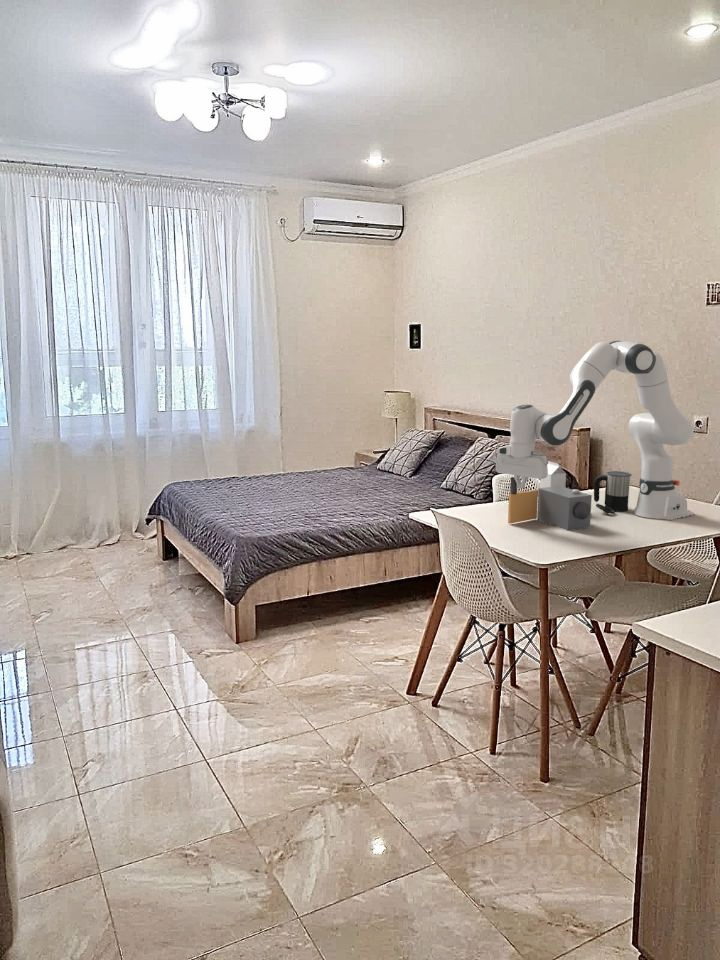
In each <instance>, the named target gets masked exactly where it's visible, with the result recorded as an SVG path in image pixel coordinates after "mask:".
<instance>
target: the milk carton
mask: <svg viewBox="0 0 720 960" xmlns="http://www.w3.org/2000/svg"><path fill="white" fill-rule="evenodd" d="M547 468H548V476H547V477H546V478H544V479H539V482H540V483H539V488H546V487H556V486H562V487H565V488H566V483H567V482H566V481H567V479H566V478H567V474H566V473H567V472H565V471H564V470H563V469H562V467H561V466H560V463H557V462H553V461H549V460H547Z"/></svg>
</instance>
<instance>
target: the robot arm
mask: <svg viewBox="0 0 720 960" xmlns="http://www.w3.org/2000/svg"><path fill="white" fill-rule="evenodd" d="M612 370H613V371H614V370H615V371H617V372H620V373H627V374H629V373H630V374H633V375H634V378H635V379H634V380H635V385H636V391H637V396H638V402H639V403H640V406H641V407H643V408H644V409H645V410H647V412H643V413H642V412H641V413H637V414H633V416H632V417H631V418H630V419H629V423H628V425H627V426H628V432H629V435H630V436H631V437H632V438H633V439H634V441H635V443H636V444H637V446H638V449H639V451H640V457H641V473H640V474H641V475H640V478H639V485H638V486H639V491H638V496H637V501H636V505H635V508H634V512H633V514H634V515H636V516H639V517H642V518H647V519H655V520H656V519H657V520H658V519H659V520H667V521H670V520H671V521H672V520H673V519H674V520H677V518H678V519H682V518H681V517H683V518H686V516H687V517H690V516H689V515H691V516H694V515H693V514H694V512H693V511H692V510H690V509H688V500H687V498H686V497H685V496H684V495H682V494H681V493H680V491H678V490H676V487H675V486H680V480H678V479H674V480H673V470H674V469H673V467H674V460H673V457H672V456H671V455H670V454H669V453H668V452H667V451H666V449H665V447H664V445H666V446H667V445H668V446H682V445H686V444H688V443H689V441H691V439H692V438H693V435H694V425H693V424H692V422H691V421H690V420H689V419H688V418H687V417H685V416H684V415H683V414H682V412H681V411H680V410H679V409H678V407H677V405H676V404H675V402H674V399H673V398H672V394H671V389H670V384H669V380H668V379H669V378H668V373H667V369H666V364H665V362H664V360H663V358H662V355H661V354H660V353H659V352H656V351H653V350H652V349H651V347H649V346H648V345H646V344H642V343H639V342H633V341H625V340H624V341H621V340H615V341H614V340H613V341H610V342H605V341H600V342H597V343H596V344H594V345H593V346H592V347H591V348H590V349H589V350H587V352H586V353H585V354H584V355H583V356H582V357H581V358H580V359H579V361H578V362H577V363H576V364H575V365H574V367H573V369H572V370H571V372H570V374H569V383H570V386H571V387H572V393H571V396H570V397H569V398H568V400H567V401H566V403H565V405H564V406H563V407H562V408H561V410H560V411H559V412H558V413H557V414H555V415H553V414H551V413H547V412H544V411H542V410H540V409H538V408H536V407H535V406H534V405H532V404H522V405H518V406H516V407H514V408H513V409H512V411H511V415H510V420H509V421H510V423H509V431H510V432H509V433H510V439H509V444H507V445H505V446H501V447H498V448H497V454H498V455H497V456H496V458H495V459H496V460H495V471H496V472H497V473H498V474H504V475H511V476H513V477H514V479H515V481H516V483H517V489H525V488H526V484H527V482H528V480H529V478H531V479H538V480H540V479H544V478H546V477H547V476H548V468H547V464H548V457H547V455H546V454H545V453H544V452H538V451H535V446H536V445H535V442H536V440H541V441H544V442H546V443H547V444H549V445H552V446H561V445H564V444H565V443H566V442H567V441H569V439H570V437H571V436H572V433H573V432H572V431H573V430H574V429H573V428H574V426H575V424H576V422H577V421H578V419H579V418H580V416H581V415H582V413H583V412H584V410H585V409H586V408H587V406H588V404H589V403H590V401H591V400H592V398H593V396H594V394H595V393H596V391H597V390H598V388H599V386H600V385H601V384H602V383H603V381H604V380H605V379H606V378H607V376H608V375H609V374H610V372H612ZM521 480H522V481H521ZM674 520H673V521H674Z"/></svg>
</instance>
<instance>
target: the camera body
mask: <svg viewBox="0 0 720 960" xmlns="http://www.w3.org/2000/svg"><path fill="white" fill-rule="evenodd" d="M537 490H538V502H537V518H536V519H537V520H538V519H539V520H538V521H541V522H543V521H544V523H546V522H547V523H546V524H549V523H550V524H549V525H552V526H554V525H555V527H557V526H558V527H557V528H559V529H562V528H563V530H565V529H566V530H565V531H573V530H572V529H575V530H581V529H580V528H582V529H589V528H588V527H590V528H591V516H592V497H593V495H592V494H589V493H585V492H582V491H580V489H578V488H577V489H576V488H575V489H574V488H573V489H571V488H569V487H566V486H565V487H562V486H556V487H546V488H540V487H538V489H537Z"/></svg>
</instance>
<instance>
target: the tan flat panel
mask: <svg viewBox="0 0 720 960" xmlns="http://www.w3.org/2000/svg"><path fill="white" fill-rule="evenodd" d="M509 487H510V490H509V491H510V493H508V511H507V512H508V513H507V514H508V515H507V516H508V517H507V518H508V519H507V524H515V523H521V522H525V521H530V520H535V519H537V512H538V489H532V490H531V489H530V490H526V491H520V492H519V491H518V488H517V483H516V481H515V479H514V476H511V477H510V486H509Z"/></svg>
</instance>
